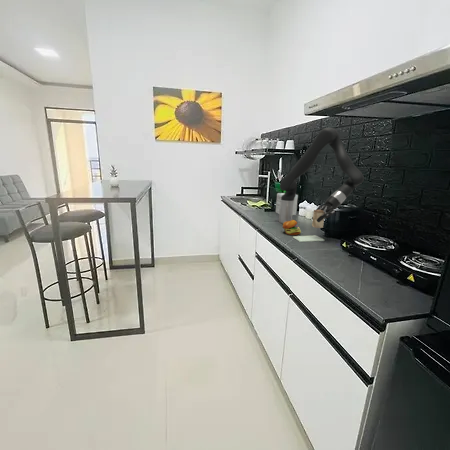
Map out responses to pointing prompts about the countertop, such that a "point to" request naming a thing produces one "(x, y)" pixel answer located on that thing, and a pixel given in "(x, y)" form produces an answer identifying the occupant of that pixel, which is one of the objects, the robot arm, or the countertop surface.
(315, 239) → the sage board
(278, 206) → the supplement box
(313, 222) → the beech block
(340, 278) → the countertop surface
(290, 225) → the cheeseburger
